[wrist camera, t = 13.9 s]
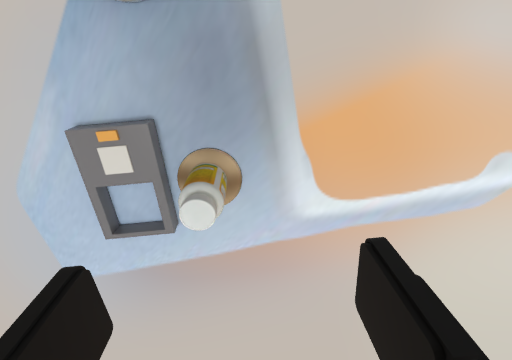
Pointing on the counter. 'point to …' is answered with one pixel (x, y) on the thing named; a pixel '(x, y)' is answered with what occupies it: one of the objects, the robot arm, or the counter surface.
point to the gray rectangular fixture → (122, 172)
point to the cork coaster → (218, 159)
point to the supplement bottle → (202, 196)
